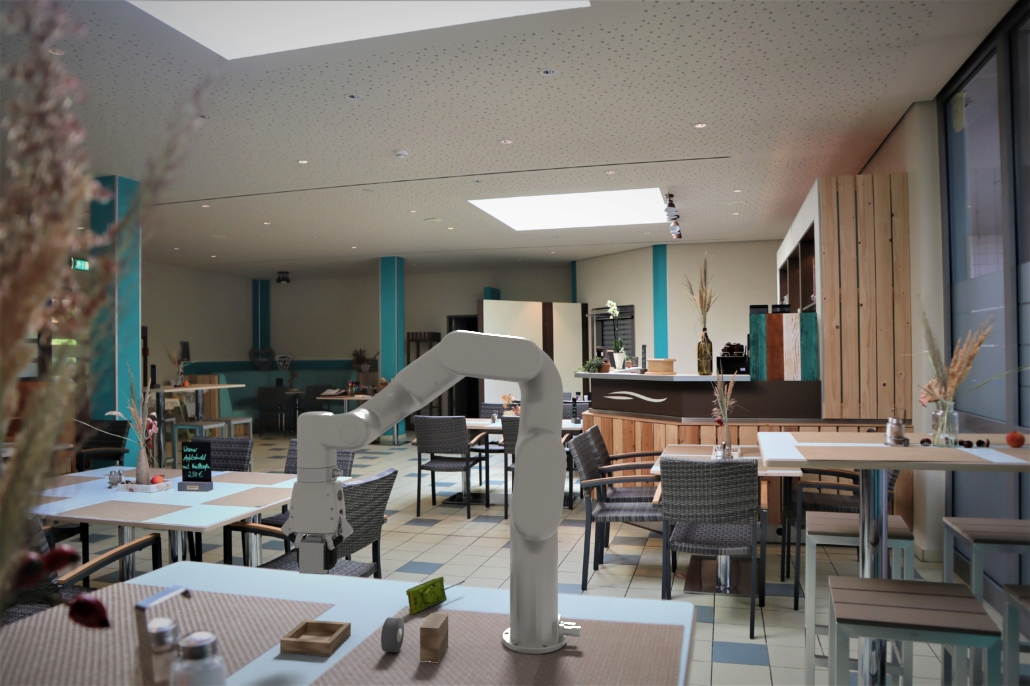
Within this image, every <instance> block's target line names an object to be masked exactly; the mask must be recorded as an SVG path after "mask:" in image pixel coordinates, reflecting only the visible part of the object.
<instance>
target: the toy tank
mask: <svg viewBox="0 0 1030 686" xmlns="http://www.w3.org/2000/svg"><path fill="white" fill-rule="evenodd" d="M444 582H445V578H444V576H440V577H439V576H438V577H436V578H433V579H430V580H428V581H425V582H422V583H420V584H417V585H415V586H413V587H410V588H408V589H407V590H405V593H406V596H407V598H408V606H409V609H408V614H409V615H414V614H416V613H419V612H421V611H423V610H426V609H429V608H430V607H433V606H435V605H436V604H439V603H441V602H444V601H447V598H448V597H447V593H446V591H447V590H449V589H450V588H453V587H455V586H457V585H460V584H462V583H465V582H466V580H463V581H460V582H458V583H456V584H453V585H451V586H448V587H445V584H444Z"/></svg>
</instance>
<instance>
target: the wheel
mask: <svg viewBox="0 0 1030 686" xmlns="http://www.w3.org/2000/svg"><path fill="white" fill-rule="evenodd" d="M404 637H405V623H404V620H403V618H402V617H400V618H399V617H387V618H386V619H385V620H384V623H383V625H382V629H381V636H380V646H381V649H382V652H387V653H388V652H389V653H399V651H400V650H401V649H402V646H403V641H404Z"/></svg>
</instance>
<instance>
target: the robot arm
mask: <svg viewBox="0 0 1030 686" xmlns="http://www.w3.org/2000/svg"><path fill="white" fill-rule="evenodd" d="M465 377H469V378H476V379H485V380H491V381H492V380H494V381H503V382H510V383H511V382H512V383H517V384H518V386H519V390H520V403H519V404H520V405H519V410H520V411H519V421H518V423H519V424H518V431H517V432H518V433H517V438H516V444H515V447H514V448H515V449H514V457H515V459H514V470H513V471H514V473H513V483H512V493H511V494H510V496H509V497H510V499H509V504H508V510H509V627H507V628H506V629H505V630H504V631H503V632H502V635H501V638H502V639H501V641H502V644H503V645H504V646H505V647H506V648H508V649H509V650H512V651H514V652H517V653H522V654H527V655H530V654H531V655H538V654H539V655H540V654H548V653H552V652H555V651H558V650H560V649H561V648H563V646H565V644H566V641H567V637H571V638H572V637H573V638H581V626H576V622H565V621H564V620H562V614H560V613H559V598H558V597H559V596H558V595H559V591H558V589H559V588H558V587H559V575H558V574H559V572H558V570H559V569H558V568H559V566H558V565H559V541H558V540H559V533H558V529H559V527H560V525H561V522H562V517H563V510H564V501H565V500H564V498H565V488H566V487H565V485H566V476H567V452H566V448H565V445H564V443H563V442H562V429H563V428H562V427H563V416H564V415H563V414H564V411H563V410H564V387H563V382H562V381H563V380H562V377H561V375H560V372H559V370H558V367H557V366H556V364H555V362H554V361H553V359H552V358H551V357H550V355H548V354H547V353H546V352H545V351H544V350H543V349H541V347H539V345H537V343H536V342H535V341H533V340H531V339H529V338H527V337H526V338H525V337H521V336H511V335H503V334H501V335H500V334H492V333H483V332H477V331H469V330H463V329H462V330H461V329H457V330H453V331H451V332H449V333H447V334H445V335H444V336H443V337H442V339H441V340H440V341H439V342H438V343H437V344H435V345H434V346H433V347H431V348H430V349H429V350H427V351H426V352H425V353H423V354H422V355H420V356H419V357H418V358H417V359H414V360H413V361H412V362H411V363H409V364H408V365H406V366H405V367H403V368H402V369H401V370H399V372H398V373H397V374H395V376H394V377H393V379H392V380H391V381H390V382H389V383H388V385H386V386H385V387H384V388H383V389H381V390H380V391H379V392H378V393H376V394H375V395H373V396H371V398H369V399H368V400H367V401H365V402H364V403H363V404H361V405H360V406H357V408H355V409H353V410H351V411H348V412H344V413H339V414H338V413H336V414H334V412H330V411H307V412H303V413H301V414H300V415H298V418H297V423H296V458H297V459H296V462H297V463H296V481H294V482H293V487H292V491H291V497H290V504H289V516H288V518H287V519H286V521H285V522H284V523H283V524H282V526H281V527H280V530H281V532H282V533H283V534H284V535H285V536H286V537H288V539H289V540H290V541H291V542H292V544H293V546H294V548H295V549H296V563H297V568H298V570H299V542H300V541H302V540H304V539H306V537H307V536H308V535H310V534H325V538H326V541H327V545H328V549H327V550H326V570H329V571H331V570H332V569H333V568H335V567H336V565H337V563H338V546H340V544H342V542H343V541H345V539H346V538H348V537H349V536H350V535H351V534H353V532H354V528H353V527H352V526H351V524H350V523H349V522H348V520H347V519H346V518H347V517H346V503H345V494H344V490H343V486H342V485H343V484H342V481H341V480H339V479H338V478H339V477H343V476H344V470H343V469H339V467H338V466H339V465H338V462H337V461H338V460H337V459H338V455H337V454H338V453H337V452H338V450H340V451H347V452H356V451H359V450H362V449H364V448H365V447H367V446H368V445H370V444H371V443H372V442H374V441H375V440H377V439H378V438H379V437H380V436H382V435H383V434H384V433H385V432H388V430H390V429H391V428H393V427H394V426H395V425H397V424H398V423H399V422H401V421H402V420H403V419H405V418H406V417H408V416H409V415H411V414H413V413H415V412H416V411H419V410H421V409H423V408H424V407H426V406H427V405H429V404H430V403H431V402H432V401H434V400H435V399H437V398H438V397H439V396H441V395H442V394H443V393H444V392H446V391H447V390H449V389H450V388H452V387H453V386H455V385H456V384H457V383H459V382H460V381H461V380H463V379H465ZM338 530H342V532H341V533H340V534H339V535H338ZM330 569H331V570H330Z"/></svg>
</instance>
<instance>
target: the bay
mask: <svg viewBox="0 0 1030 686" xmlns="http://www.w3.org/2000/svg"><path fill="white" fill-rule="evenodd" d="M351 635H352V622H347V621H345V622H344V621H343V622H342V621H331V620H330V621H328V620H315V619H303V620H302V621H301V622H300V623H298V624H297V625H296V626H295V627H294V628H292V630H290V631H289V632H288V633H287V634H285V635H283V637H282V638H281V639H280V640H279V643H280V644H279V645H280V646H279V649H280V650H279V653H280V654H289V655H290V654H292V655H303V656H304V655H305V656H317V657H318V656H319V657H331V656H332V655H333V654H334V653H335V652H336V650H338V649H339V648H340V647H341V646H342V645H343V644H344V643H345V642H346V641H347V640H348V639H349V638H350V636H351Z"/></svg>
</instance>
